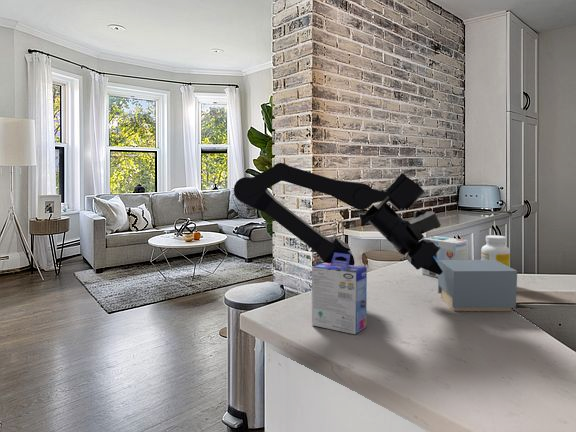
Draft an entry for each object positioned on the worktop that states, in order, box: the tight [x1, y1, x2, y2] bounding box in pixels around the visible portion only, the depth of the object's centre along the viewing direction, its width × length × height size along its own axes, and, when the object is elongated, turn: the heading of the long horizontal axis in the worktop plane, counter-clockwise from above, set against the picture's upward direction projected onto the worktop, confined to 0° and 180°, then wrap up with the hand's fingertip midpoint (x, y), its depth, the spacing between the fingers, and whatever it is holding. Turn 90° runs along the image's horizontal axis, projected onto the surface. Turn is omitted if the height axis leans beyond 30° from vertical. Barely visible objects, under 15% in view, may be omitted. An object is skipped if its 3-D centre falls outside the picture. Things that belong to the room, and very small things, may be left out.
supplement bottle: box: [480, 234, 511, 267], centre depth 107 cm, size 7×7×13 cm
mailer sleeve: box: [437, 259, 518, 309], centre depth 92 cm, size 13×11×8 cm
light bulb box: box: [421, 235, 469, 279], centre depth 117 cm, size 11×7×11 cm, turn 37°
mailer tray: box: [440, 288, 512, 312], centre depth 93 cm, size 12×9×3 cm
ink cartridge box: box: [311, 253, 368, 335], centre depth 81 cm, size 10×6×14 cm, turn 57°
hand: (440, 273), depth 93 cm, fingers closed
